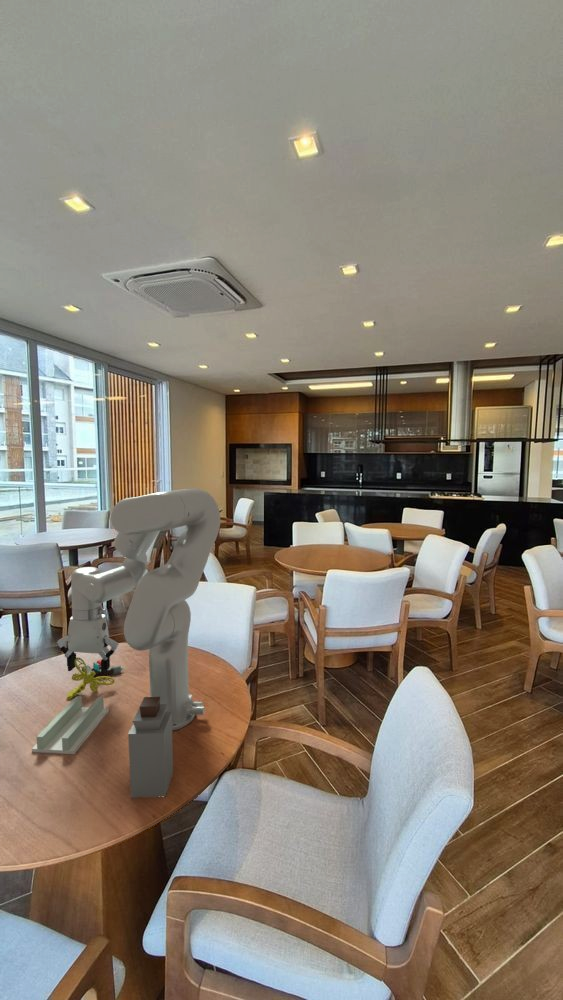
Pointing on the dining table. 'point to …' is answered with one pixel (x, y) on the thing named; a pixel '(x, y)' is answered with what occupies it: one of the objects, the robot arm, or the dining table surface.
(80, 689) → the decorative insect
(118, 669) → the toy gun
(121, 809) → the dining table surface
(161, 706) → the perfume bottle
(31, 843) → the dining table surface
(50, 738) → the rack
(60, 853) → the dining table surface
